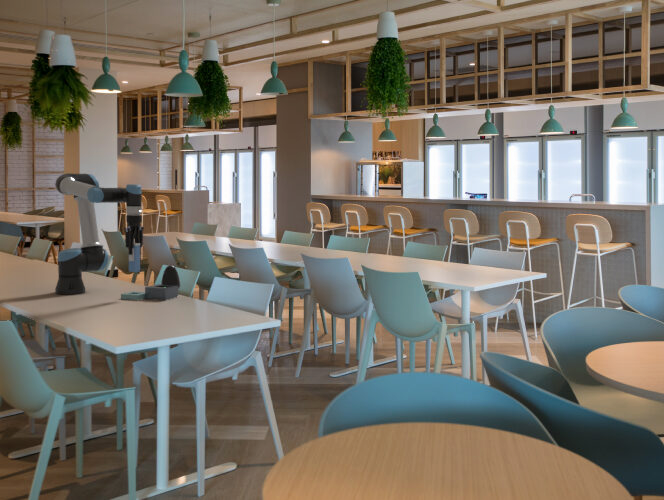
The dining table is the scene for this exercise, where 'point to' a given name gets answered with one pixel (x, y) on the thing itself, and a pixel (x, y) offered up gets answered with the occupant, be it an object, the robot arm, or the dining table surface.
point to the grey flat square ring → (133, 295)
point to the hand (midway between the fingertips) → (134, 260)
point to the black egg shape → (170, 277)
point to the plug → (135, 259)
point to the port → (161, 292)
